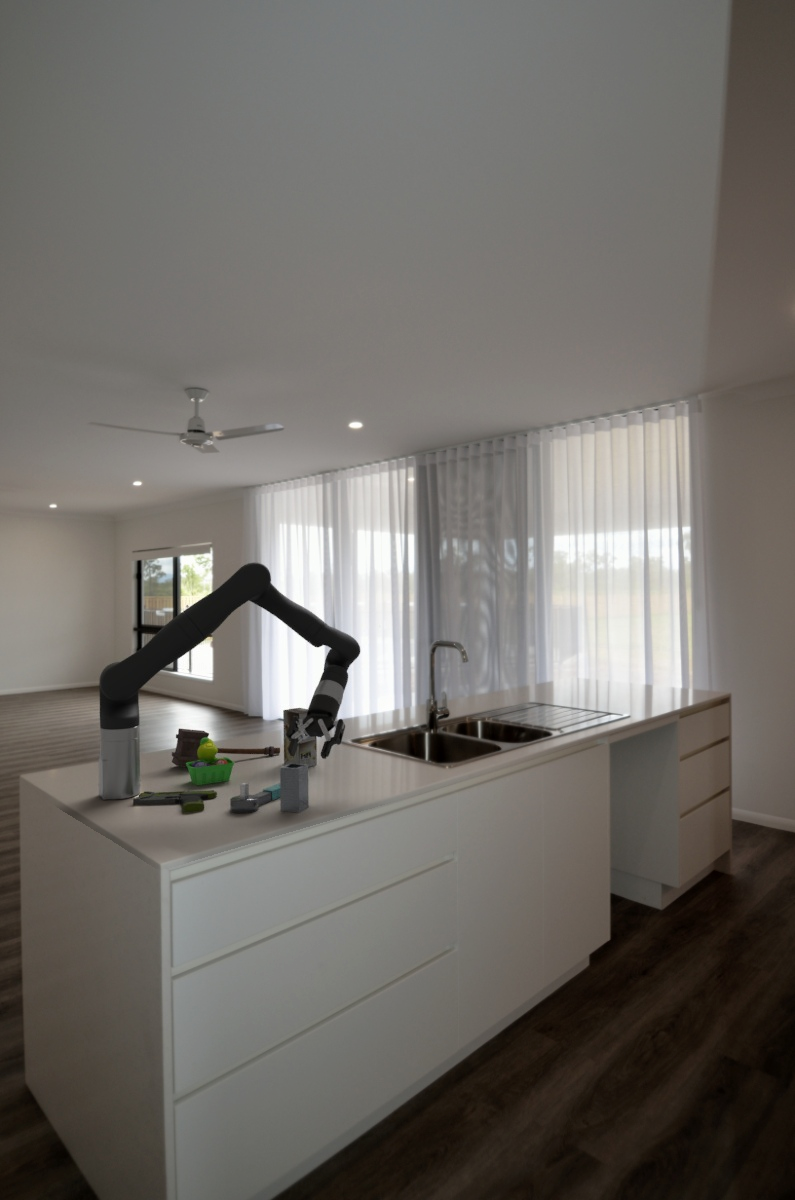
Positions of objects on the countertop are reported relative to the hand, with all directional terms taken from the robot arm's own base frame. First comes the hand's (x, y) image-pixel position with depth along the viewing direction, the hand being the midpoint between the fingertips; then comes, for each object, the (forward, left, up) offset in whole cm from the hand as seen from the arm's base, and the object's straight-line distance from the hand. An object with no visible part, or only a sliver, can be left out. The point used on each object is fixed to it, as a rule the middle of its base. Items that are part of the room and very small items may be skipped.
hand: (307, 755), depth 167 cm
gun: (-28, +16, -12) cm, 34 cm away
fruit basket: (-14, +32, -11) cm, 36 cm away
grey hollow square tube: (-5, -4, -11) cm, 13 cm away
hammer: (-3, +50, -11) cm, 52 cm away
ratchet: (-10, +5, -11) cm, 15 cm away
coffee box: (+14, +35, -11) cm, 39 cm away
